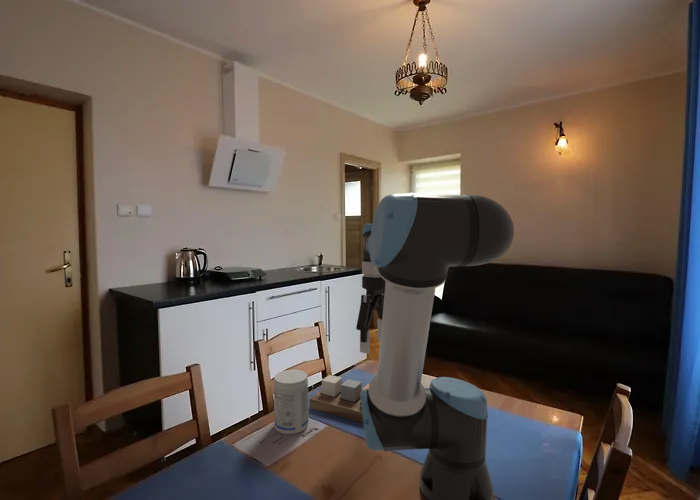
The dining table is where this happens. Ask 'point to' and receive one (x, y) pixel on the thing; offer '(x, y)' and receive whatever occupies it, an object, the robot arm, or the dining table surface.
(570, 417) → the dining table surface
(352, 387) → the gray cube
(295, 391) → the supplement tub
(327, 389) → the beige cube
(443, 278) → the robot arm
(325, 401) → the wooden board
